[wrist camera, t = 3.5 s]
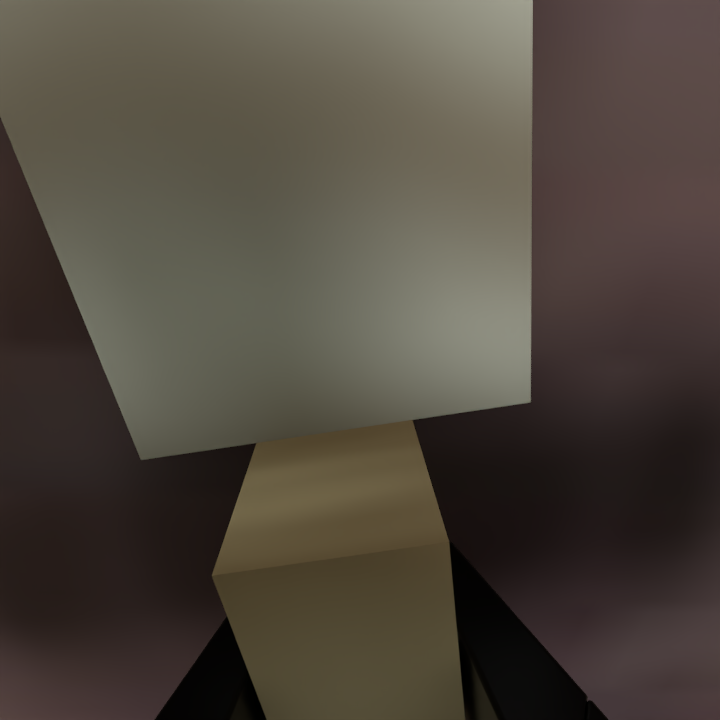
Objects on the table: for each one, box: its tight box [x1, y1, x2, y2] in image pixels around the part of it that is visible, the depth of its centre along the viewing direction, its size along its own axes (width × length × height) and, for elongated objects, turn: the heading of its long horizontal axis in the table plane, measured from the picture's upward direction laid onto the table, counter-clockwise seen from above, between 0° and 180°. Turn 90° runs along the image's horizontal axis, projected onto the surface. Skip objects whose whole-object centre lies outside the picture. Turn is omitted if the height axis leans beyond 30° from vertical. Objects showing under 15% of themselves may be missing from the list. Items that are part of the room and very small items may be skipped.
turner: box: [0, 0, 533, 720], centre depth 7 cm, size 21×7×4 cm, turn 8°
